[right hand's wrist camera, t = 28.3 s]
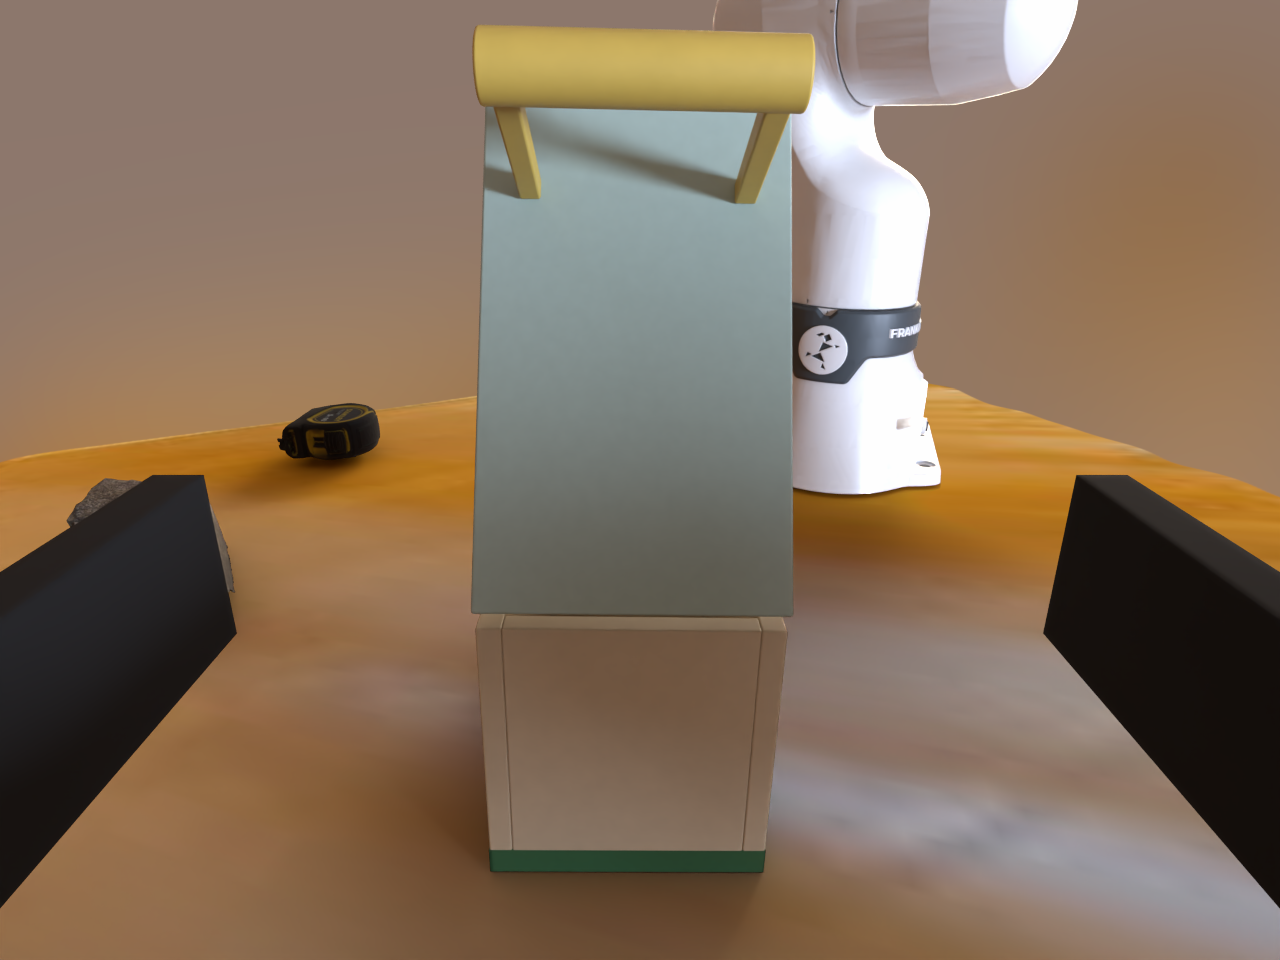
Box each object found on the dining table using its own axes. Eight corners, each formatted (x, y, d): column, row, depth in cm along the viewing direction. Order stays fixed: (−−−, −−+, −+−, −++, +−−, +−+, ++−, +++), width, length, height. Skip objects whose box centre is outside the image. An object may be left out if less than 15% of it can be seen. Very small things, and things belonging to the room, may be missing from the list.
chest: (536, 629, 45) (530, 452, 41) (717, 630, 45) (729, 455, 41) (490, 871, 30) (474, 629, 26) (763, 872, 30) (788, 632, 26)
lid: (490, 113, 28) (430, -86, 19) (785, 120, 28) (859, -73, 19) (476, 611, 26) (404, 643, 18) (786, 614, 26) (867, 647, 18)
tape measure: (319, 439, 72) (313, 398, 71) (393, 442, 72) (389, 402, 70) (281, 466, 66) (274, 423, 65) (362, 470, 66) (357, 426, 64)
